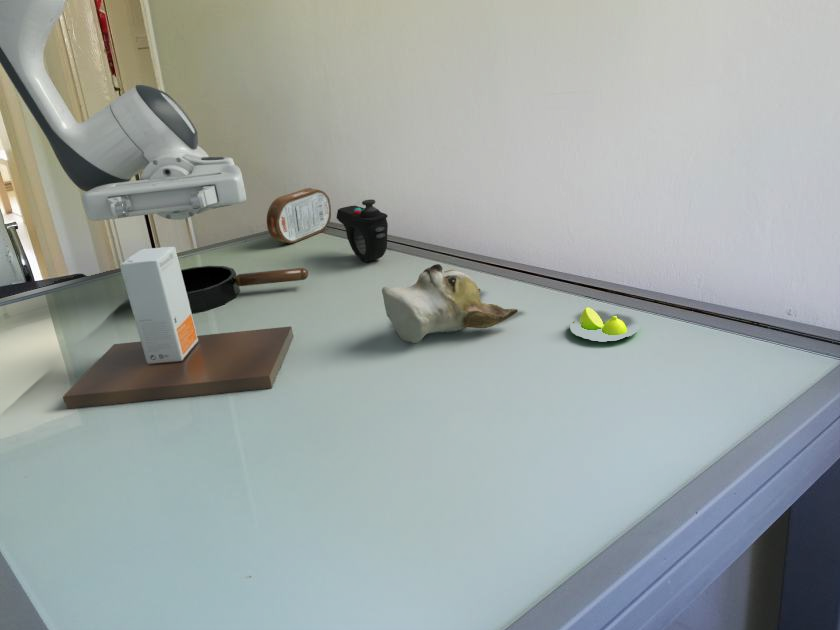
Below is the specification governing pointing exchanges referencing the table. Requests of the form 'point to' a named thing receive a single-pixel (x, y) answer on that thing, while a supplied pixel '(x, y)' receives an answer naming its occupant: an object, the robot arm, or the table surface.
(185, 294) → the cosmetic box
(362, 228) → the controller
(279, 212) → the tin
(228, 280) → the pan
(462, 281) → the ceramic sculpture
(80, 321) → the table surface
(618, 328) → the lemon
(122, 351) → the cutting board
